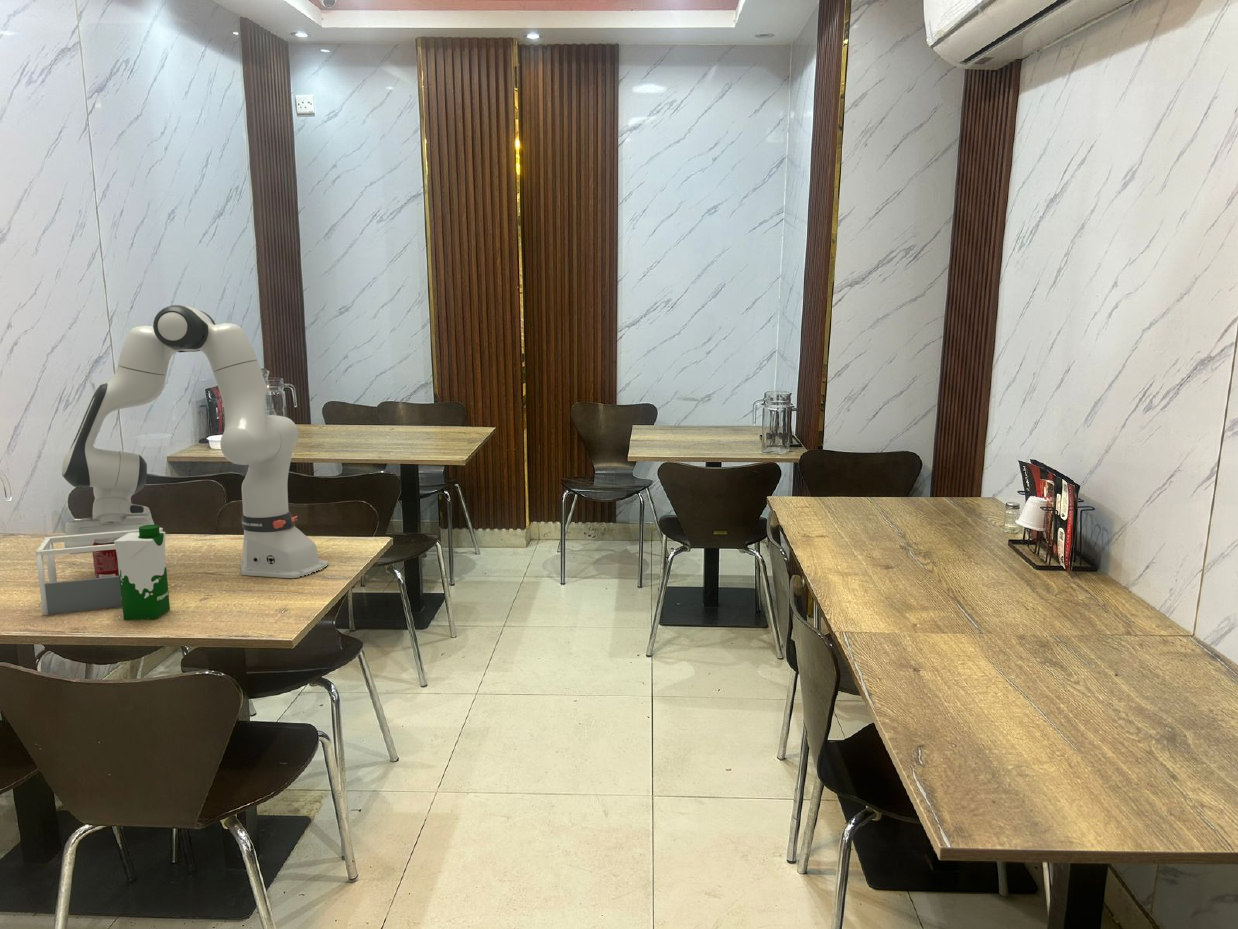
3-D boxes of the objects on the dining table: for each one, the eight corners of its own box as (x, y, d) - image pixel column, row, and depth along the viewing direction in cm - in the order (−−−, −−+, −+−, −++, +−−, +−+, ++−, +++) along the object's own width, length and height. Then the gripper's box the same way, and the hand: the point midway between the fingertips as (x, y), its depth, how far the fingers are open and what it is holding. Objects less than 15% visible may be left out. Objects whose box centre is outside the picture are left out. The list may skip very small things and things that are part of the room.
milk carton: (159, 620, 202) (151, 531, 199) (116, 621, 202) (107, 532, 198) (176, 607, 211) (168, 522, 207) (135, 608, 211) (126, 522, 207)
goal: (51, 597, 218) (44, 537, 215) (167, 585, 227) (162, 527, 224) (41, 615, 206) (34, 551, 203) (164, 601, 215) (159, 540, 212)
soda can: (118, 590, 224) (113, 544, 220) (90, 588, 224) (84, 542, 220) (133, 578, 230) (128, 533, 226) (106, 576, 230) (100, 531, 227)
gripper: (62, 513, 229) (60, 562, 222) (155, 506, 236) (155, 553, 229) (67, 526, 234) (65, 574, 226) (158, 519, 241) (158, 566, 234)
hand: (111, 564), depth 228 cm, fingers closed, pressing on soda can
